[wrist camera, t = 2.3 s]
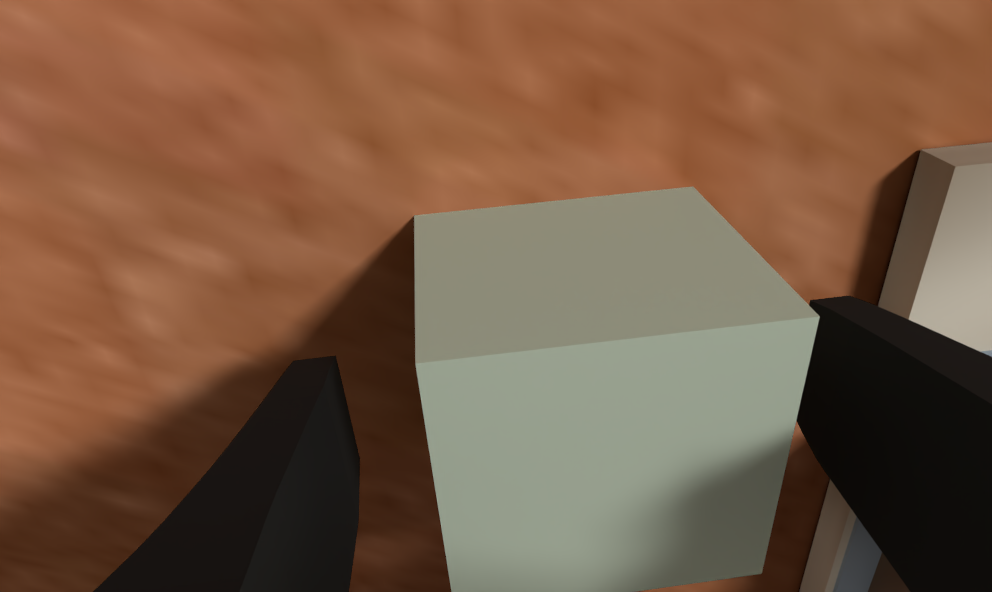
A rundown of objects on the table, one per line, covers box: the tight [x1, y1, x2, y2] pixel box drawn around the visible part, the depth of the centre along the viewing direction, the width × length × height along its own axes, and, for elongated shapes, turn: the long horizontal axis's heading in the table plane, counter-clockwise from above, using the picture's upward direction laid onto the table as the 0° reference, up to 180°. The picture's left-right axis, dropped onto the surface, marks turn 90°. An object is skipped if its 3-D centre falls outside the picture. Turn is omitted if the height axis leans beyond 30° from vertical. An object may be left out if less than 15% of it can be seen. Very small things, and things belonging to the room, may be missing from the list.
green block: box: [414, 187, 820, 592], centre depth 10 cm, size 4×4×4 cm
